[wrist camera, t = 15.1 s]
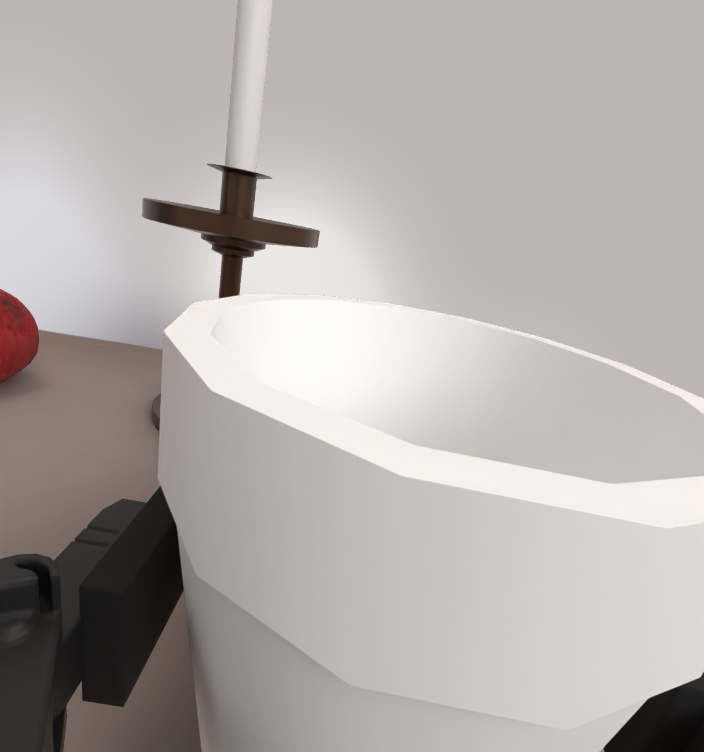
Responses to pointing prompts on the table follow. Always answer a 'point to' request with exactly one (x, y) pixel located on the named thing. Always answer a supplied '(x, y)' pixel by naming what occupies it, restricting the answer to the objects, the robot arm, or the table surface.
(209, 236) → the candlestick
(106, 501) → the table surface
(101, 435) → the table surface
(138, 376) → the table surface
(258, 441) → the foam cup
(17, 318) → the onion
